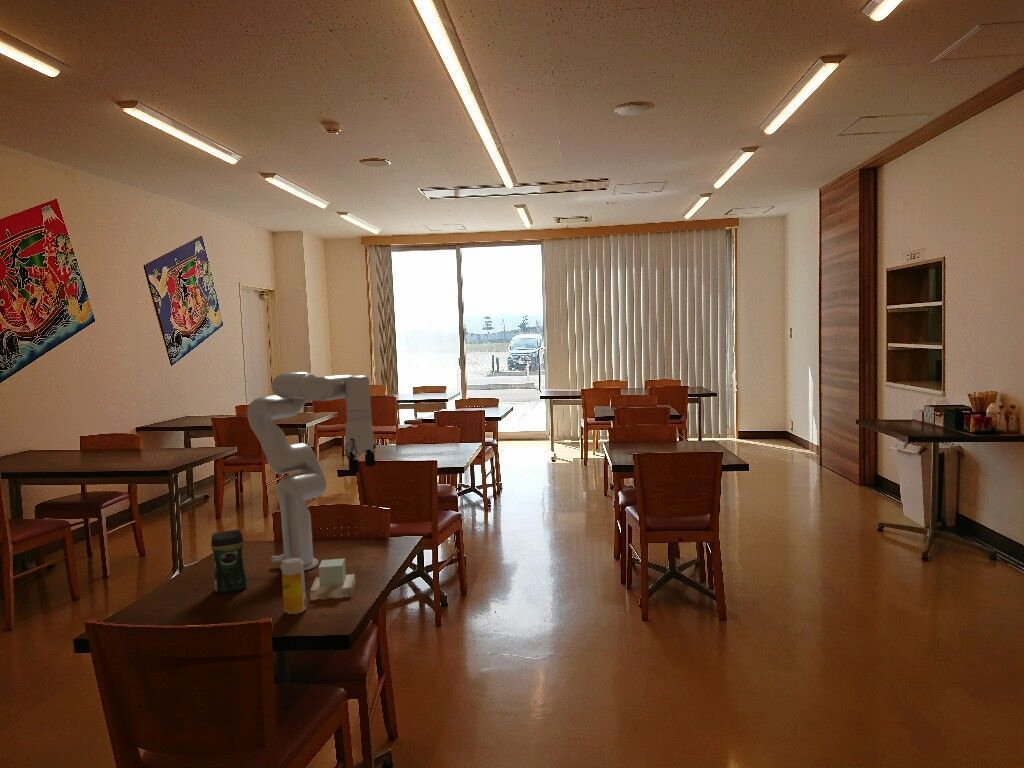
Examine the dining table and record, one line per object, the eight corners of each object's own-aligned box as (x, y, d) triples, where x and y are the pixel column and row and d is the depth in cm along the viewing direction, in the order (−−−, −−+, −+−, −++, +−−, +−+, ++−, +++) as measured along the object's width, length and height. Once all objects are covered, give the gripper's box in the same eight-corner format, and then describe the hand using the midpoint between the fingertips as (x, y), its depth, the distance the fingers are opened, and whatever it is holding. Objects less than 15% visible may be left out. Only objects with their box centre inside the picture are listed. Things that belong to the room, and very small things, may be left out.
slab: (310, 600, 219) (309, 590, 219) (316, 586, 231) (316, 577, 231) (351, 596, 221) (351, 587, 221) (355, 583, 233) (354, 574, 232)
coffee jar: (246, 582, 238) (242, 526, 236) (247, 590, 231) (243, 532, 229) (214, 587, 234) (209, 530, 233) (214, 595, 227) (210, 536, 225)
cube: (319, 586, 222) (318, 567, 221) (323, 579, 229) (321, 560, 228) (343, 585, 223) (342, 565, 222) (345, 577, 230) (344, 558, 229)
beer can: (287, 608, 214) (283, 557, 213) (308, 606, 214) (305, 556, 213) (282, 616, 208) (278, 564, 207) (304, 614, 208) (300, 562, 207)
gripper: (362, 411, 240) (366, 463, 241) (333, 418, 223) (336, 474, 225) (383, 411, 237) (386, 464, 238) (354, 418, 221) (358, 475, 222)
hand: (362, 469), depth 231 cm, fingers open, 9 cm apart
